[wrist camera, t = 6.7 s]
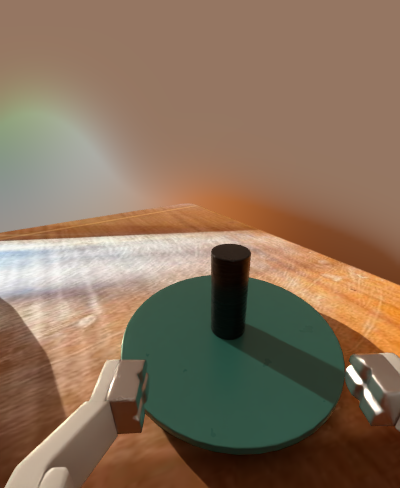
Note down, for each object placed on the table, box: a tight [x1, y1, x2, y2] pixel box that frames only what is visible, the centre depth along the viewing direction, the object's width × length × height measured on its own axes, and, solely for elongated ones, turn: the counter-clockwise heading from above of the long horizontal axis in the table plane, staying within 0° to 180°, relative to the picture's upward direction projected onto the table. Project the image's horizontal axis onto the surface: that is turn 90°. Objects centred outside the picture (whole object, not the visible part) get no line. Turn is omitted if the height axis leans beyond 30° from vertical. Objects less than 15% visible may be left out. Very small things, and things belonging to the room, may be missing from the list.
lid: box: [121, 244, 345, 455], centre depth 16 cm, size 15×15×7 cm
